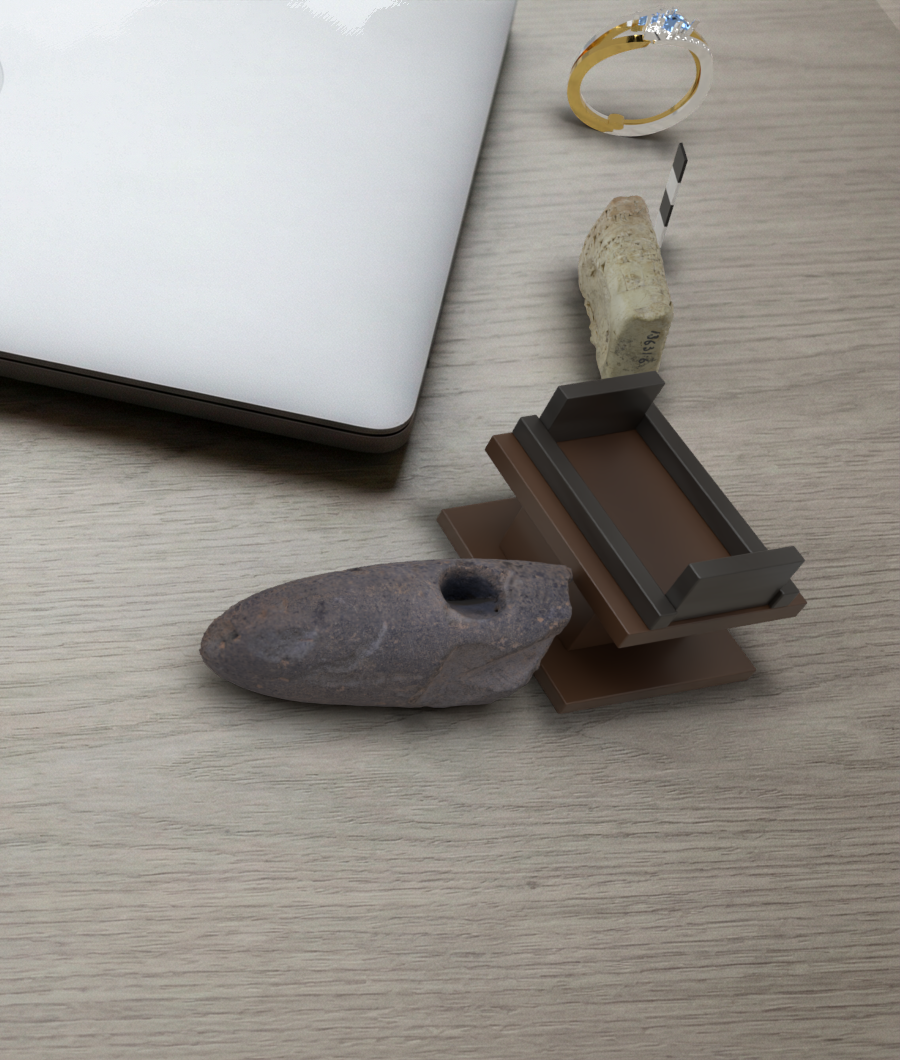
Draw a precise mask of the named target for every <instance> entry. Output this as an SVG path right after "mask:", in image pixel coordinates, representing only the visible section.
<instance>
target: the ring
mask: <svg viewBox="0 0 900 1060" xmlns="http://www.w3.org/2000/svg"><path fill="white" fill-rule="evenodd" d="M679 10H680V6H678V5H673V6H672V7H669V6H668V7H666V6H665V5H658V6H657V7H651V8H647V9H643V10H640V11H639V10H638V11H637V10H636V11H634V12H633V13H630V14H627V15H625V16H622V17H620V18H617V19H616V20H613V21H612V22H610V23H608V24H607V25H605V26H604V27H603V28H601V29H600V30H599V31H597V33H596V34H594V35H593V36H592V37H591V38H590V39H589V40H588V41H587V42H586V43H585V44H584V45H583V47H582V48H581V49H580V50H579V51H578V53H577V55H576V56H575V58H574V59H573V62H572V64H571V67H570V69H569V73H568V79H567V87H566V96H567V97H566V98H567V102H568V104H569V107H570V109H571V111H572V112H573V114H574V115H575V116H576V117H577V118H578V119H579V120H580V122H582V123H583V124H585V125H587V126H588V127H590V128H592V129H594V130H596V131H598V132H601V133H603V134H608V135H613V136H616V137H641V136H648V135H651V134H655V133H659V132H663V131H664V130H667V129H670V128H672V127H674V126H675V125H677V124H678V123H681V122H682V121H684V120H686V118H688V117H689V116H690V115H691V114H693V113H694V112H695V111H696V110H697V109H698V108H699V107H700V106H701V105H702V103H703V102H704V100H705V99H706V98H707V95H708V94H709V92H710V89H711V86H712V83H713V77H714V56H713V53H712V50H711V49H710V46H709V45H708V43H707V41H706V40H705V38H704V37H703V36H702V35H701V34H700V32H698V31H697V30H696V28H697V27H698V26H699V24H700V23H701V20H700V18H698V17H695V18H694V19H693V20H692V21H691V23H690V24H689V20H688V18H686V17H685V16H684V15H683V14H682V13H680V12H679ZM627 31H630V32H635V33H637V32H642V34H631V35H625V36H620V35H621V34H623V33H625V32H627ZM617 36H619V37H617ZM650 45H658V46H659V45H660V46H661V45H662V46H671V47H678V48H683V49H685V50H687V51H688V52H689V53H690V54H691V56H692V58H693V60H694V64H695V71H696V72H695V77H694V78H693V82H692V84H691V86H690V88H689V89H688V91H687V92H686V94H685V95H684V96H683V97H682V98H681V99H680V100H679V101H678V102H677V103H676V104H674V105H673V106H671V107H670V108H668V109H667V110H665V111H663V112H660V113H658V114H656V115H653V116H649V117H645V118H638V119H637V118H636V119H625V116H624V115H622V114H621V113H620V114H619V113H610V114H609V115H606V114H604V113H601V112H599V111H597V110H596V109H595V108H594V107H592V105H590V104H589V103H588V102H587V100H586V99H585V98H584V95H583V94H582V93H583V92H582V90H581V87H582V82H583V79H584V78H585V77H586V75H587V74H588V73H589V71H590V70H591V69H592V68H594V67H595V66H596V65H597V64H599V63H600V62H602V61H604V60H606V59H608V58H611V57H614V56H617V55H620V54H623V53H625V52H629V51H630V52H631V51H633V50H638V49H644V48H648V47H649V46H650Z"/></svg>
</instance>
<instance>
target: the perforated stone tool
mask: <svg viewBox="0 0 900 1060" xmlns="http://www.w3.org/2000/svg"><path fill="white" fill-rule="evenodd" d="M572 580H573V574H572V569H571V568H568V567H567V566H566V565H554V564H546V563H541V562H530V561H520V560H499V559H476V558H475V559H473V558H472V559H461V558H437V559H436V558H435V559H433V558H432V559H422V560H406V561H395V562H386V563H378V564H377V563H375V564H371V565H370V564H369V565H362V566H358V567H352V568H351V567H350V568H347V569H343V570H335V571H329V572H324V573H320V574H319V573H318V574H315V575H311V576H306V577H301V578H297V579H294V580H289V581H287V582H284V583H280V584H277V585H274V586H272V587H268V588H265V589H263V590H261V591H258V592H254V594H253V593H252V594H251V595H249V596H248V597H246V598H244V599H241V600H239V601H238V602H236V603H235V604H233V605H231V606H229V608H228V609H226V610H224V611H223V613H221V615H218V616H217V617H216V618H213V621H212V622H211V623H210V624H209V625H208V626H207V628H206V630H205V631H204V632H203V635H202V637H201V641H200V648H199V649H198V652H199V653H198V654H199V655H200V656H201V659H202V661H203V663H204V664H205V666H207V668H209V669H210V670H211V671H212V672H213V673H215V674H216V676H218V677H220V678H221V679H222V680H225V681H228V683H231V684H234V685H235V686H237V687H239V688H242V689H245V690H248V691H251V692H254V693H256V694H260V695H263V696H267V697H272V698H276V699H282V700H285V701H292V702H300V703H309V704H320V705H338V706H339V705H344V706H345V705H346V706H352V707H353V706H354V707H384V708H385V707H386V708H387V707H388V708H391V707H397V708H406V709H407V708H408V709H409V708H410V709H411V708H412V709H413V708H422V707H429V708H434V709H435V708H437V709H438V708H440V709H441V708H442V709H445V708H446V709H447V708H450V707H457V706H478V705H488V704H492V703H493V702H496V701H498V700H501V699H504V698H506V697H510V696H511V695H513V694H514V693H516V692H517V691H518V690H520V689H521V688H523V687H526V686H527V685H528V683H529V682H530V681H531V679H532V677H533V676H534V674H533V673H534V671H536V670H538V669H539V666H540V662H541V659H542V658H543V657H544V656H545V653H546V652H547V651H548V648H549V646H550V645H551V643H552V641H553V639H554V637H555V636H556V635H558V634H560V633H561V632H562V631H563V629H564V628H565V627H566V626H567V624H568V623H569V621H570V618H571V615H572V607H571V604H570V601H569V593H568V591H569V588H568V584H570V583H571V581H572Z"/></svg>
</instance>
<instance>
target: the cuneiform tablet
mask: <svg viewBox="0 0 900 1060" xmlns="http://www.w3.org/2000/svg"><path fill="white" fill-rule="evenodd" d="M688 160H689V159H688V156H687V153H686V150H685V146H684V143H683V142H678V146H677V149H676V152H675V156H674V159H673V161H672V165H671V169H670V172H669V175H668V179H667V182H666V186H665V189H664V192H663V196H662V198H661V202H660V204H659V205H660V206H659V209H658V212H657V216H656V218H655V222H654V225H653V222H652V220H651V215H650V213H649V211H650V210H649V206H648V204H647V202H646V200H645V199H644V197H642V196H640V195H637V194H636V195H630V196H616V197H614V198H613V199H611V200H610V202H608V204H607V205H606V207H604V210H603V211H602V212H601V214H600V215H599V217H598V218H597V219H596V220H595V222H594V223H593V225H592V227H591V228H590V230H589V232H588V233H587V235H586V237H585V239H584V242H583V246H582V248H581V252H580V254H579V257H578V264H577V275H578V287H579V290H580V291H579V292H580V293H581V295H582V297H583V298H584V303H583V305H584V307H585V310H586V315H587V316H588V318H589V320H590V324H589V325H588V328H589V330H590V334H591V336H590V338H589V340H590V343H591V344H592V345H593V346H594V347H595V350H596V351H595V360H596V364H597V365H596V366H597V368H598V371H599V375H600V379H605V378H611V377H618V376H624V375H630V374H637V373H643V372H649V371H656V372H657V373H658V374H659V371H660V367H661V363H662V362H661V361H662V359H663V358H662V356H663V353H664V349H665V348H666V342H667V337H668V335H669V334H670V329H671V326H672V323H673V322H674V319H675V318H674V317H675V316H674V315H675V313H674V311H675V306H674V303H673V302H672V298H671V293H670V289H669V285H668V281H667V279H666V271H665V268H664V259H663V257H662V255H661V254H662V253H661V248H662V245H663V242H664V238H665V235H666V232H667V229H668V226H669V222H670V220H671V216H672V212H673V210H674V206H675V203H676V200H677V197H678V193H679V190H680V187H681V184H682V180H683V178H684V174H685V171H686V167H687V165H688Z"/></svg>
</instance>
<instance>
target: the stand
mask: <svg viewBox="0 0 900 1060" xmlns="http://www.w3.org/2000/svg"><path fill="white" fill-rule="evenodd" d="M665 385H666V382H665V380H664V379H663V377H662V376H661V375H660V374H659V372H658V373H657V372H656V371H649V372H643V373H637V374H630V375H624V376H618V377H611V378H605V379H601V378H600V379H593V380H586V381H580V382H575V383H568V384H567V383H566V384H561V385H558V386H557V387H556V389H555V391H554V392H553V394H552V395H551V398H550V399H549V401H548V403H547V404H546V405H545V407H544V410H542V412H541V414H540V416H538V415H537V414H530V415H525V416H521V417H519V418H518V420H517V422H516V424H515V425H514V427H513V429H512V431H510V432H504V433H497V434H493V435H491V437H490V439H489V441H488V442H487V444H486V446H485V447H484V452H485V453H486V455H487V456H488V457H489V460H490V461H491V462H492V464H493V465H494V466H495V468H496V469H497V471H498V472H499V474H500V476H501V477H502V478H503V480H504V481H505V483H506V484H507V486H508V487H509V488H510V490H511V492H512V493H513V494H514V497H509V498H501V499H496V500H490V501H485V502H484V501H483V502H477V503H472V504H465V505H460V506H453V507H447V508H442V509H441V510H440V512H439V514H438V515H437V517H436V518H435V519H436V522H437V524H438V525H439V527H440V528H441V530H442V532H443V533H444V535H445V536H446V538H447V539H448V541H449V543H450V544H451V546H452V547H453V549H454V550H455V553H457V555H458V557H459V559H472V558H473V559H475V558H476V559H499V560H520V561H530V562H541V563H546V564H554V565H566V566H567V567H568V568H571V569H572V574H573V580H572V581H571V583H570V584H568V588H569V591H568V593H569V601H570V604H571V607H572V615H571V618H570V621H569V623H568V624H567V626H566V627H565V628H564V629H563V631H562V632H561V633H560V634H558V635H556V636H555V637H554V639H553V641H552V643H551V645H550V646H549V648H548V651H547V652H546V653H545V656H544V657H543V658H542V659H541V662H540V666H539V669H538V670H536V671H534V673H533V676H534V677H535V679H536V681H537V682H538V684H539V685H540V687H541V689H542V690H543V692H544V694H545V695H546V697H547V698H548V700H549V702H550V703H551V705H552V706H553V708H554V709H555V711H556V713H557V714H559V715H562V714H569V713H574V712H579V711H585V710H590V709H596V708H600V707H607V706H612V705H617V704H622V703H628V702H634V701H640V700H644V699H645V700H646V699H651V698H655V697H656V698H657V697H660V696H667V695H672V694H677V693H683V692H688V691H695V690H700V689H705V688H711V687H717V686H722V685H726V684H733V683H739V682H743V681H748V680H749V679H750V678H751V677H752V676H754V674H755V673H756V671H757V668H756V666H755V665H754V663H752V661H751V660H750V658H749V657H748V656H747V654H746V653H745V652H744V650H743V649H742V648H741V646H740V645H739V643H738V642H737V640H736V639H735V638H734V637H733V635H732V634H731V632H730V631H729V629H735V628H741V627H745V626H752V625H757V624H762V623H768V622H773V621H779V620H785V619H792V618H796V617H797V616H798V615H799V614H800V613H801V611H802V610H803V609H804V608H805V607H806V606H807V604H808V601H807V600H806V598H805V597H804V596H803V594H802V593H801V591H800V589H799V588H798V586H797V585H796V584H795V583H794V582H793V580H792V579H791V578H792V577H793V576H794V575H795V573H797V571H798V570H799V569H800V568H801V566H802V565H804V563H805V562H806V560H805V558H804V556H803V555H802V554H801V552H800V551H799V550H798V549H797V548H796V546H795V545H789V546H784V547H778V548H777V547H776V548H772V549H768V548H767V547H766V545H765V544H764V543H763V541H762V540H761V539H760V538H759V536H758V535H757V534H756V533H755V531H754V530H753V528H752V527H751V526H750V525H749V524H748V522H747V520H745V518H744V517H743V516H742V515H741V513H740V511H738V509H737V508H736V507H735V505H734V504H733V503H732V502H731V500H730V499H729V498H728V496H727V495H726V494H725V493H724V491H723V490H722V489H721V488H720V486H719V485H718V483H717V482H716V481H715V480H714V479H713V477H712V476H711V474H710V473H709V472H708V471H707V470H706V468H705V467H704V466H703V464H702V463H701V462H700V461H699V459H698V458H697V456H696V455H695V454H694V453H693V451H692V450H691V449H690V447H689V446H688V445H687V444H686V442H685V441H684V439H682V437H681V436H680V435H679V433H678V432H677V431H676V430H675V428H674V427H673V425H672V424H671V423H670V422H669V421H668V419H667V418H666V417H665V415H664V414H663V412H661V410H660V408H658V406H657V405H656V404H655V402H654V401H655V400H656V398H657V397H658V395H659V394H660V392H662V389H663V388H664V387H665Z"/></svg>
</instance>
